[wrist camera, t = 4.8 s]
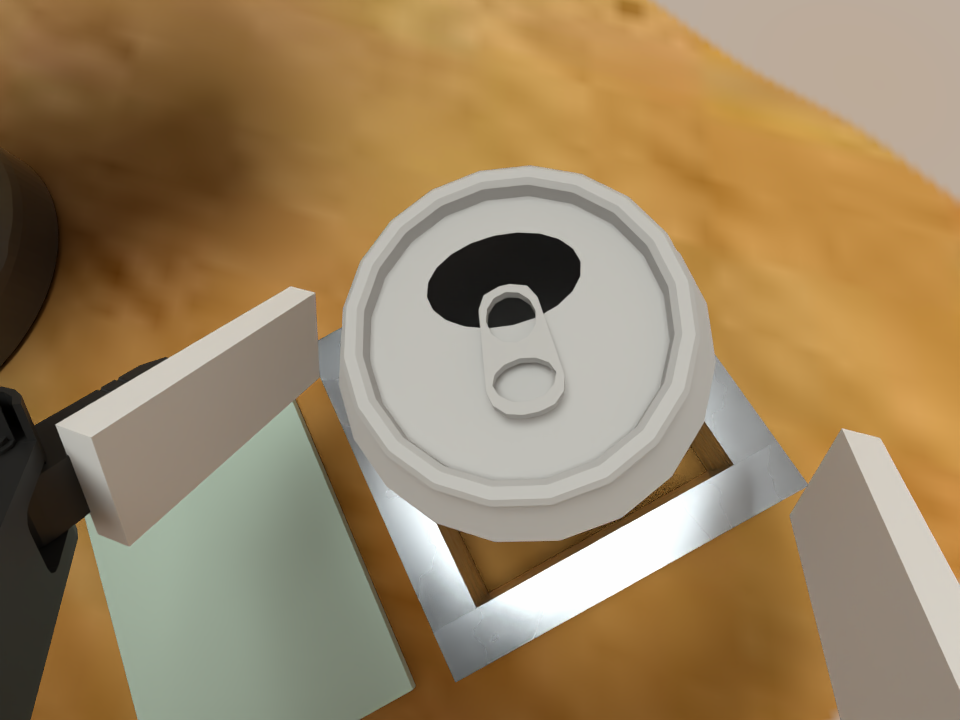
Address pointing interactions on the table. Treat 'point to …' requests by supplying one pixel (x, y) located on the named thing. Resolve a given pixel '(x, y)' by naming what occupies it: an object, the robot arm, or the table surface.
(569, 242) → the can
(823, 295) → the table surface
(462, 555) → the holder
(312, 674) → the mat
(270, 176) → the table surface
